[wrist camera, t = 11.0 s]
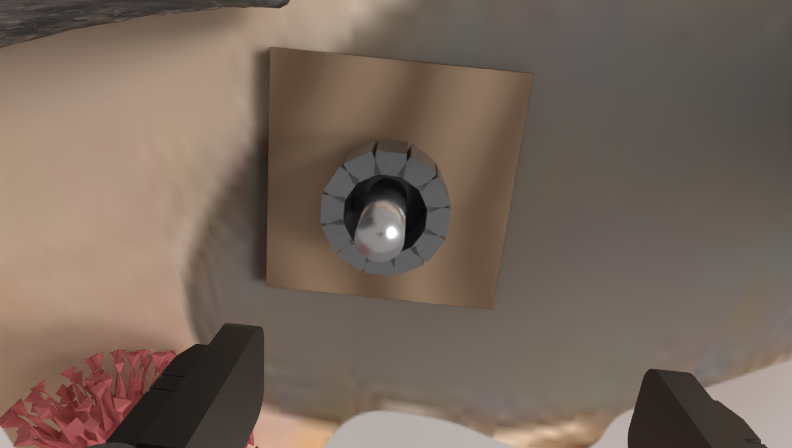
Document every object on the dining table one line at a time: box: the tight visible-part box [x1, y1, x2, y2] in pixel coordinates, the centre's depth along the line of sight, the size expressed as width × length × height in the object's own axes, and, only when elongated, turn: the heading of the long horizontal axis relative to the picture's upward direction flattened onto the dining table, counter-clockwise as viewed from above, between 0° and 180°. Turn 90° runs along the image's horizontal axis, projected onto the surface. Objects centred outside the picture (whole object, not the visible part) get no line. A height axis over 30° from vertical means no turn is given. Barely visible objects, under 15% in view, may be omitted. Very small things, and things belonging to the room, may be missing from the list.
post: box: [351, 174, 425, 262], centre depth 26 cm, size 5×5×8 cm
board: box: [266, 47, 534, 310], centre depth 30 cm, size 14×14×1 cm
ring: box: [320, 139, 451, 276], centre depth 27 cm, size 6×6×3 cm
